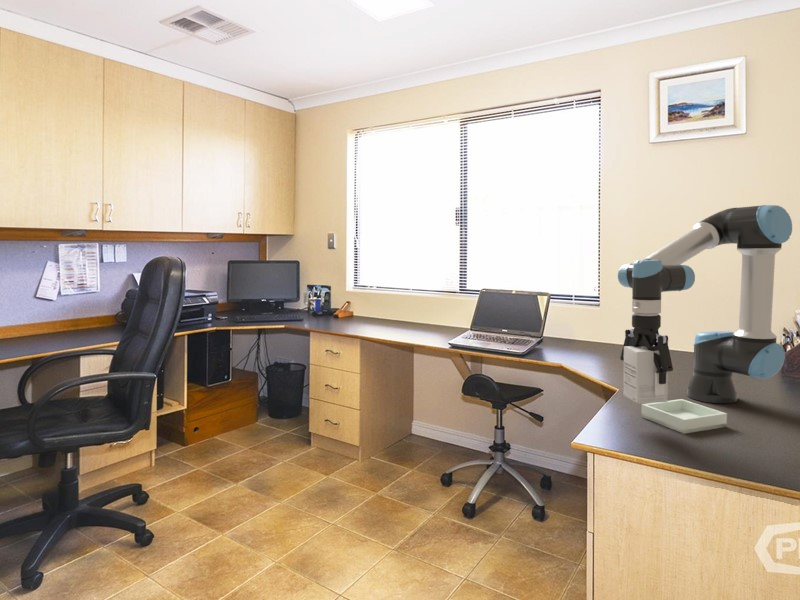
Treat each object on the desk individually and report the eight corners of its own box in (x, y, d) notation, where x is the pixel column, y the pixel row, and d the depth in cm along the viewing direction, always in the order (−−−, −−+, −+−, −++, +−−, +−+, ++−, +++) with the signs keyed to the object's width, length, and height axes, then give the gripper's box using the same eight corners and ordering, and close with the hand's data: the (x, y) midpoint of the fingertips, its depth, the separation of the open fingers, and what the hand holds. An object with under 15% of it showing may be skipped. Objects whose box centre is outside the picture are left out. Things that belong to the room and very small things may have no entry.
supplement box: (652, 393, 159) (653, 344, 158) (668, 402, 150) (669, 350, 149) (622, 395, 159) (622, 345, 157) (636, 403, 150) (637, 351, 148)
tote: (681, 411, 170) (681, 398, 170) (726, 426, 155) (727, 413, 155) (641, 416, 165) (641, 404, 165) (683, 433, 150) (684, 419, 149)
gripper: (608, 310, 161) (607, 382, 164) (667, 319, 140) (665, 402, 142) (628, 308, 164) (627, 379, 166) (689, 317, 142) (687, 398, 145)
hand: (644, 390), depth 154 cm, fingers closed on supplement box, 10 cm apart
